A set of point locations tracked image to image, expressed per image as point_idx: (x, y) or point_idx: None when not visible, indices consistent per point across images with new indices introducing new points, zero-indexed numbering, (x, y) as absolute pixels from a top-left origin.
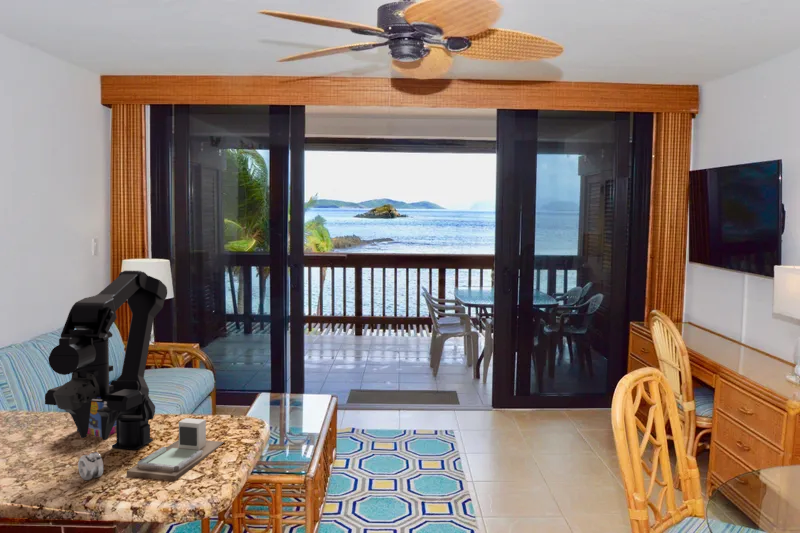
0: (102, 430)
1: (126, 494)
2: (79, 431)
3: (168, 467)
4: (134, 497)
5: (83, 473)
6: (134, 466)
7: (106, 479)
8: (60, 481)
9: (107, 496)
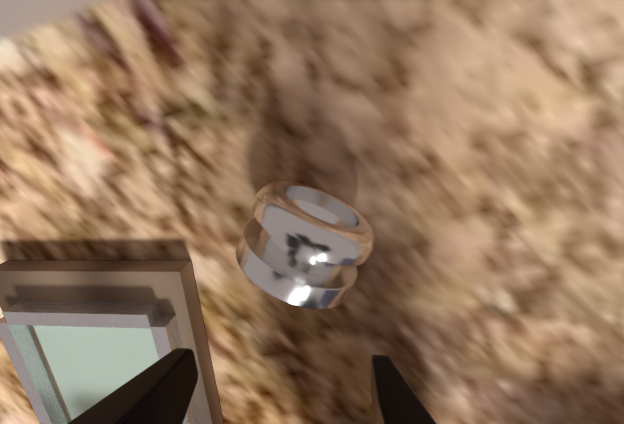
0: (112, 413)
1: (61, 125)
2: (408, 400)
3: (25, 309)
4: (13, 110)
5: (335, 212)
6: (187, 313)
7: (244, 223)
8: (418, 157)
9: (108, 85)
